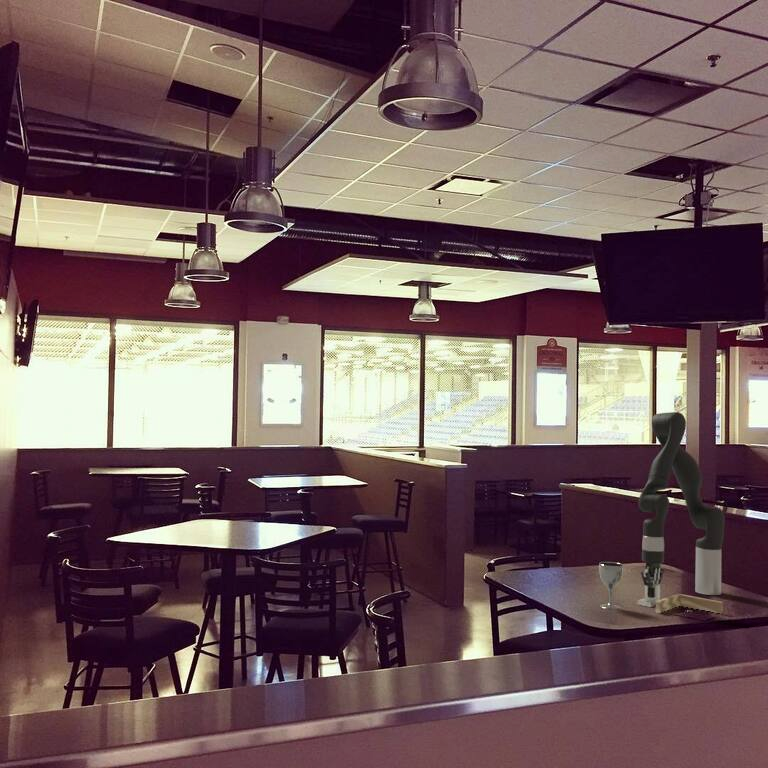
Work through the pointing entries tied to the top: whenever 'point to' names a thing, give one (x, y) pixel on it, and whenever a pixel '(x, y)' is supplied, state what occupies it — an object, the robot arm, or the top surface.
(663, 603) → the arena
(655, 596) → the bracket
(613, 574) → the wine glass
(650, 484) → the robot arm
